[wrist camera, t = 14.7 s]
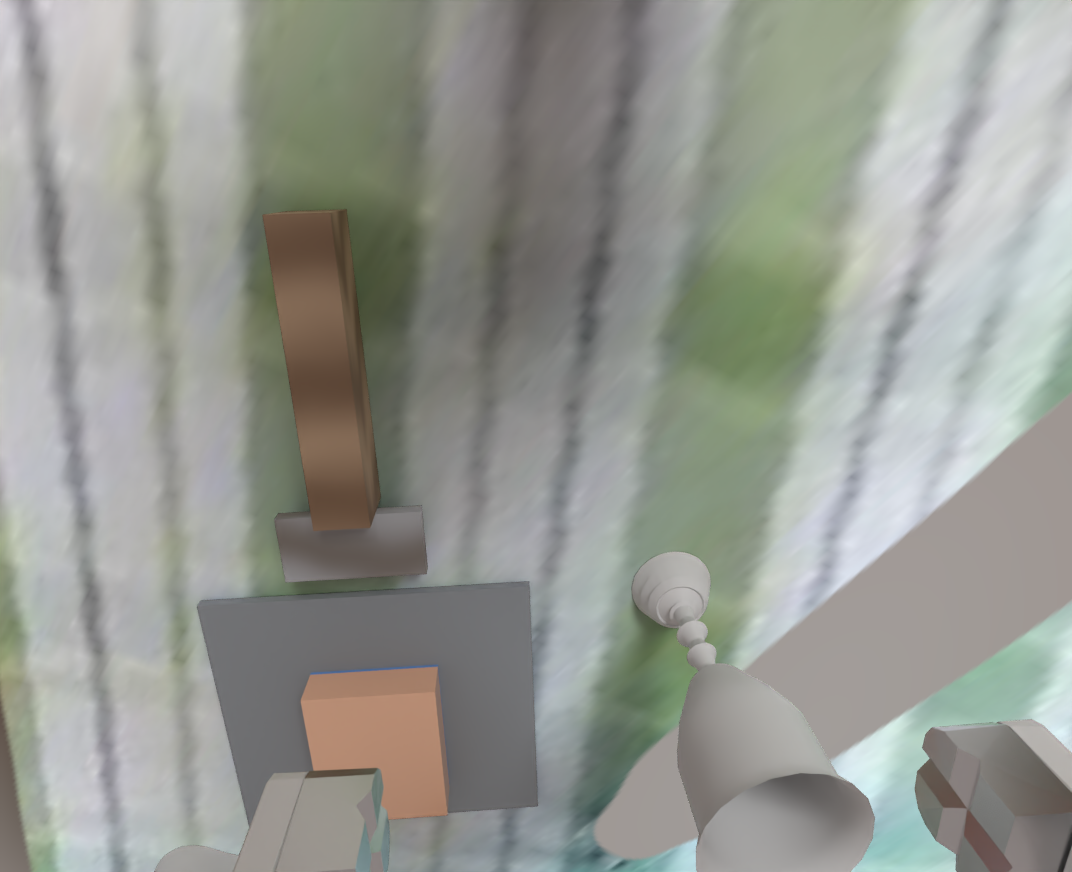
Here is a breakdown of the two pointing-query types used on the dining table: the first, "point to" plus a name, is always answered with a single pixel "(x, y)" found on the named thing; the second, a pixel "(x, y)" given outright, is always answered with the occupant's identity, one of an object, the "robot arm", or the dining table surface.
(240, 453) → the dining table surface
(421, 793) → the tile
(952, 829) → the robot arm
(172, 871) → the lumpy-topped squat cylinder
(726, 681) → the chalice
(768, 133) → the dining table surface
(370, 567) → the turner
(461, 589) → the mat
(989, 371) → the dining table surface
